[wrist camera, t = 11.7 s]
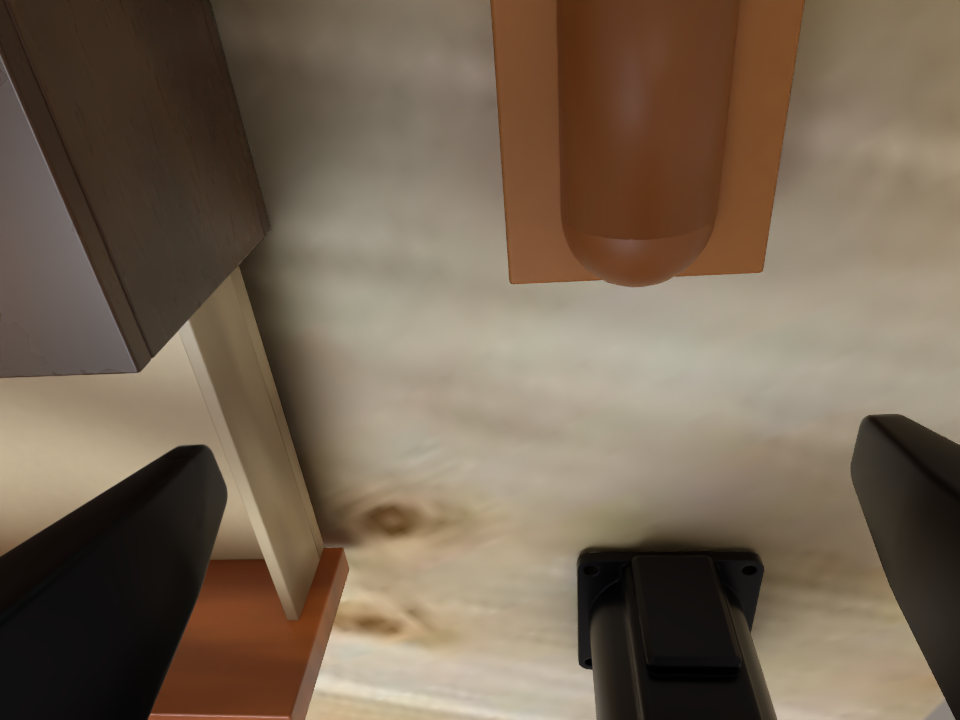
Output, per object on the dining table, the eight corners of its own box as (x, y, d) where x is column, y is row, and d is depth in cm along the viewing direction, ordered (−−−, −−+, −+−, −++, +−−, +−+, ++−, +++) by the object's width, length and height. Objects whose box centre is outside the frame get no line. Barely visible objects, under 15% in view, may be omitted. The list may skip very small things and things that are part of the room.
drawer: (370, 641, 27) (330, 811, 21) (-10, 637, 28) (-133, 794, 23) (215, 90, 16) (53, 165, 10) (-393, 140, 17) (-796, 226, 12)
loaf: (727, 222, 17) (787, 307, 13) (513, 233, 18) (506, 319, 14) (781, -234, 12) (902, -321, 8) (486, -198, 13) (465, -262, 9)
